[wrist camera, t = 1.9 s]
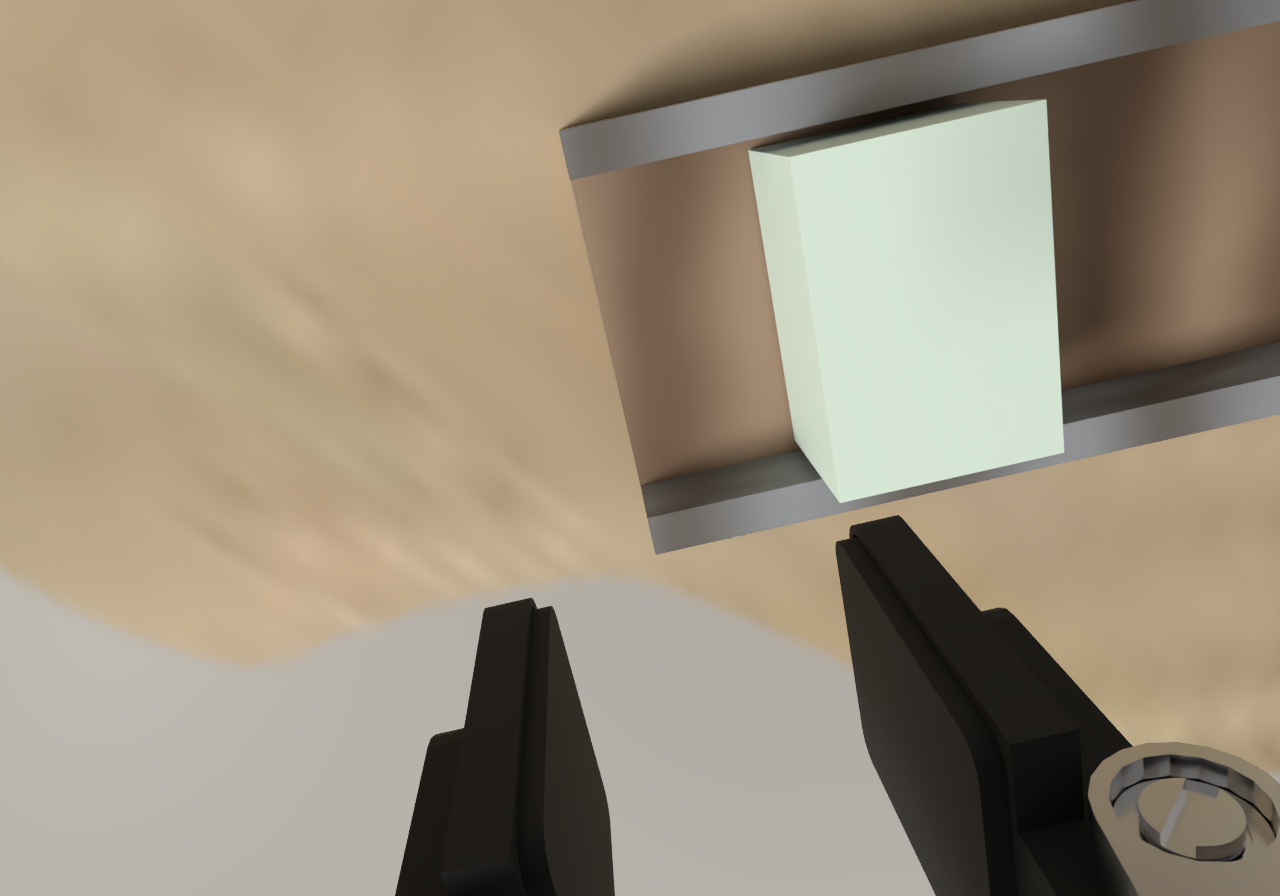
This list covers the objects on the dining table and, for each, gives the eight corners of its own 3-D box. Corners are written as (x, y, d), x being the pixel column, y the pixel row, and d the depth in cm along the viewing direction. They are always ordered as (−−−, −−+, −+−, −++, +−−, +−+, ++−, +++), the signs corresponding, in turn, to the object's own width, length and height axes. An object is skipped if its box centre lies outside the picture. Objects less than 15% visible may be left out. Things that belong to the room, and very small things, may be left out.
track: (1639, -114, 27) (1898, -170, 21) (1578, 290, 31) (1783, 325, 26) (559, 129, 26) (558, 131, 21) (644, 501, 31) (660, 578, 25)
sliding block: (958, 102, 26) (1046, 98, 21) (982, 397, 29) (1064, 452, 24) (748, 150, 26) (789, 157, 21) (794, 440, 29) (839, 503, 24)
